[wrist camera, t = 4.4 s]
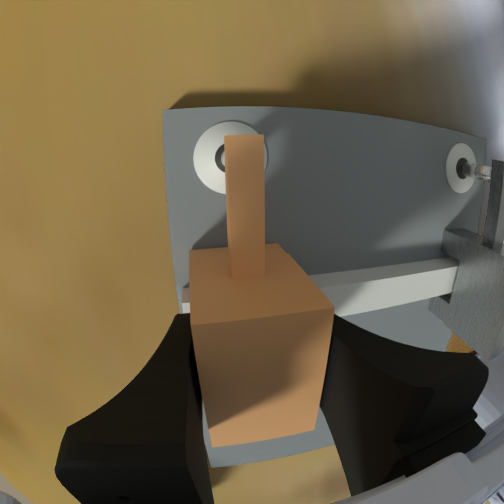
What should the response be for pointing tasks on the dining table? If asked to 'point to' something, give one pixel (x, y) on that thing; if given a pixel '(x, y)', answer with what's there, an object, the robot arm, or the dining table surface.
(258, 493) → the dining table surface
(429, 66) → the dining table surface
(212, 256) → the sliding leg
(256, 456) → the board
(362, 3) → the dining table surface
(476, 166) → the fixed leg
